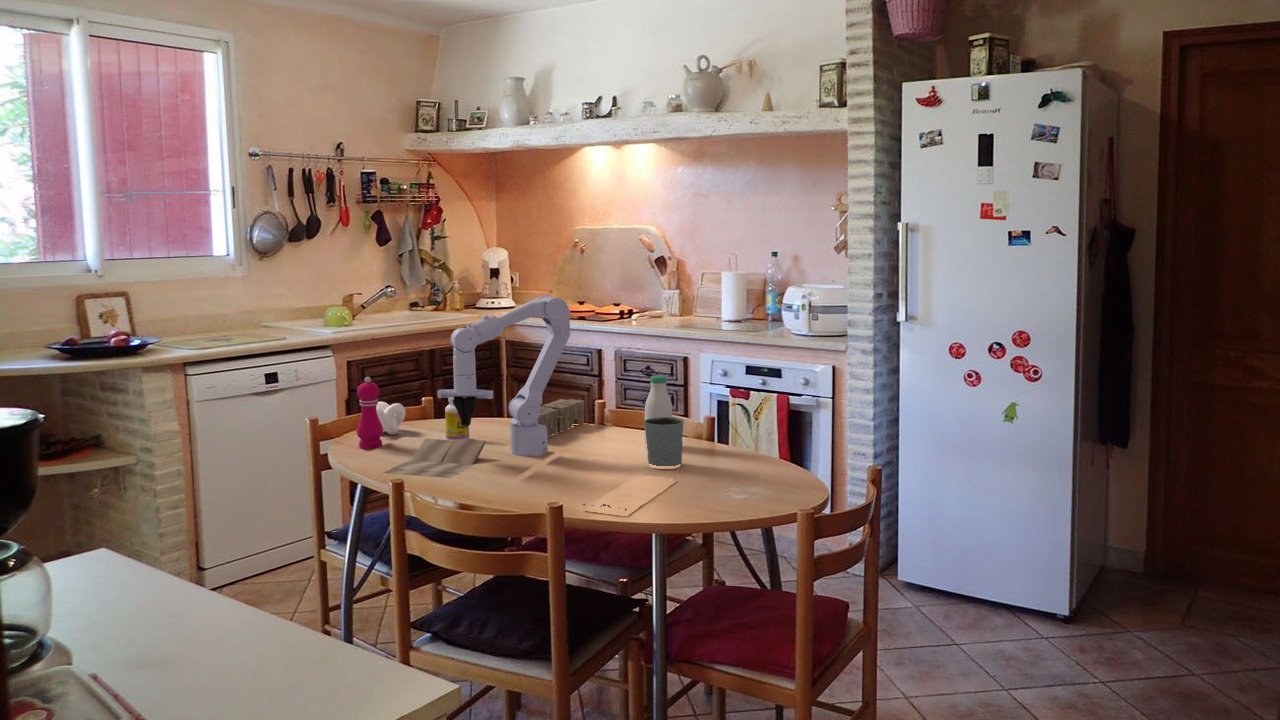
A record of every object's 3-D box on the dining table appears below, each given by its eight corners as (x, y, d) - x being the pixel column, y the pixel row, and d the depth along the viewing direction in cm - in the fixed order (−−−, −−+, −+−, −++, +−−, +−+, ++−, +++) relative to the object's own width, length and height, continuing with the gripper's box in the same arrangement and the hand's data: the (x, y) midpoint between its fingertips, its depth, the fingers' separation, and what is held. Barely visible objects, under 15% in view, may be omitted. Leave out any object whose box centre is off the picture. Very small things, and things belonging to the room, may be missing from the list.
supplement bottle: (457, 444, 293) (455, 399, 291) (441, 440, 297) (439, 397, 295) (474, 439, 298) (473, 396, 296) (458, 436, 302) (457, 393, 300)
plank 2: (485, 443, 273) (484, 440, 272) (472, 467, 266) (471, 464, 266) (456, 441, 275) (455, 438, 275) (443, 465, 269) (442, 462, 268)
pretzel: (355, 436, 304) (354, 406, 302) (377, 427, 315) (375, 398, 314) (389, 438, 300) (388, 408, 299) (410, 429, 312) (409, 400, 310)
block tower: (563, 425, 323) (511, 441, 297) (563, 398, 322) (511, 412, 296) (584, 427, 319) (534, 443, 293) (585, 400, 318) (534, 414, 292)
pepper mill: (387, 444, 293) (384, 374, 290) (378, 450, 286) (375, 379, 283) (362, 443, 294) (359, 374, 291) (353, 449, 287) (350, 378, 284)
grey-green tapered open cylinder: (680, 471, 262) (680, 425, 260) (641, 469, 264) (640, 423, 262) (686, 461, 272) (686, 417, 270) (648, 460, 274) (648, 415, 272)
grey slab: (473, 468, 265) (473, 464, 265) (450, 481, 253) (450, 477, 253) (409, 463, 271) (408, 460, 270) (383, 476, 258) (383, 472, 258)
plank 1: (454, 443, 276) (454, 440, 275) (441, 465, 269) (440, 462, 268) (426, 441, 278) (425, 438, 278) (412, 462, 271) (411, 460, 271)
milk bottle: (672, 449, 285) (672, 378, 282) (644, 449, 285) (644, 378, 282) (672, 443, 292) (672, 374, 289) (645, 443, 293) (644, 374, 290)
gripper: (495, 372, 272) (497, 422, 274) (442, 371, 274) (444, 421, 276) (488, 376, 265) (489, 428, 267) (434, 375, 267) (435, 426, 269)
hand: (466, 425), depth 271 cm, fingers closed
